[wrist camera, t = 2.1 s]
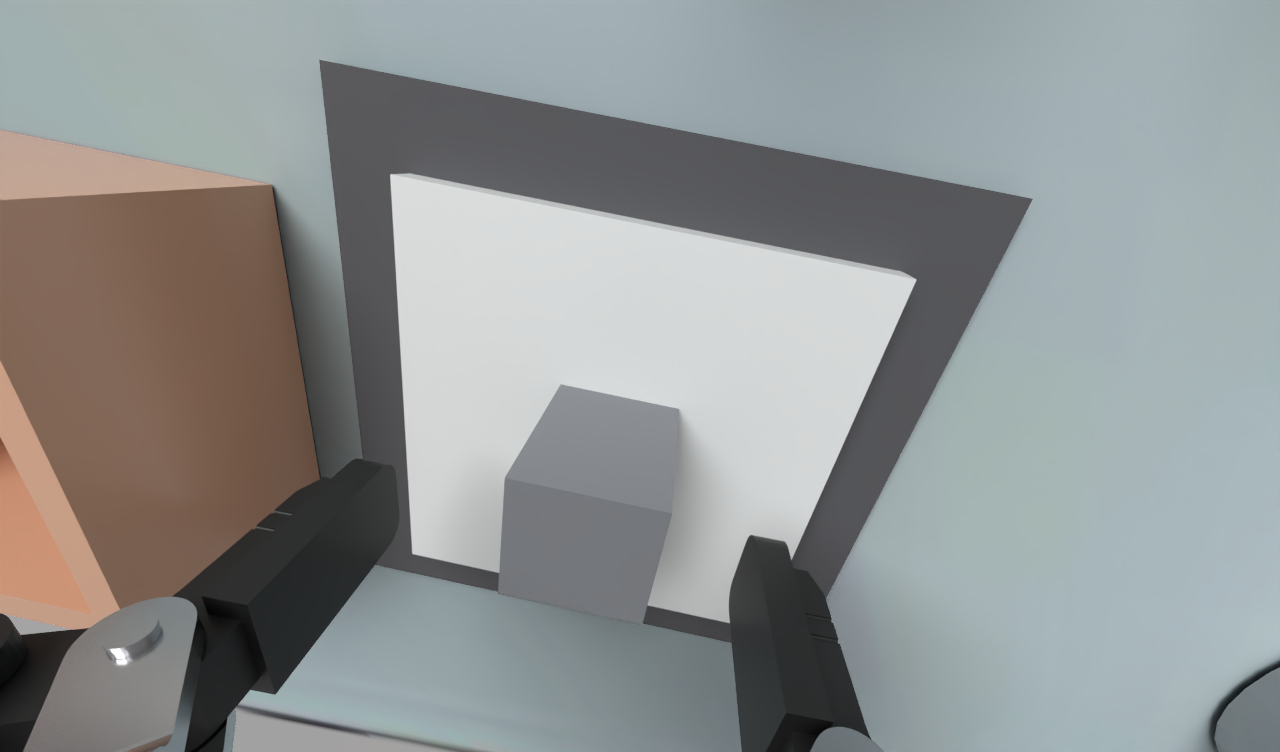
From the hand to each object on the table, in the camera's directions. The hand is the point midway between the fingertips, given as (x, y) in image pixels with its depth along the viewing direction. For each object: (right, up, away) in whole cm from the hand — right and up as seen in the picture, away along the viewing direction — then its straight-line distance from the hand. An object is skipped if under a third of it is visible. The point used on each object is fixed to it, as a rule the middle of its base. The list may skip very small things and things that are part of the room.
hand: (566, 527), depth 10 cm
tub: (-14, +5, +4) cm, 15 cm away
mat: (+1, +2, +4) cm, 4 cm away
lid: (+1, +2, +3) cm, 4 cm away
